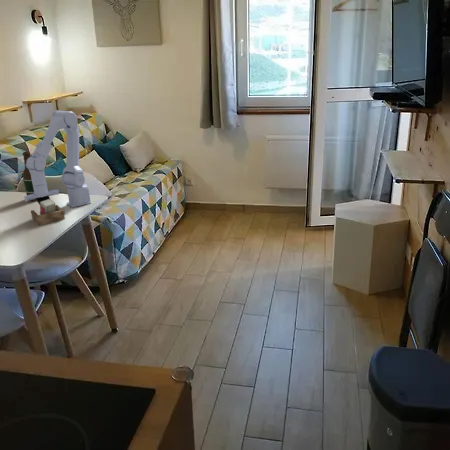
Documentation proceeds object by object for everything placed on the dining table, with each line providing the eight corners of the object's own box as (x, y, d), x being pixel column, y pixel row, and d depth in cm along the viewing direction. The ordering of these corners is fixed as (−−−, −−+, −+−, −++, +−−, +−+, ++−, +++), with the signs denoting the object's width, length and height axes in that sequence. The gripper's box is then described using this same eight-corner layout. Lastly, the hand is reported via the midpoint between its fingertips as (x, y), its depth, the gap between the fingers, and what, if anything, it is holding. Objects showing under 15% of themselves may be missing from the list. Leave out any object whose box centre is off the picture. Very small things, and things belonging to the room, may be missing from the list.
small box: (49, 213, 217) (49, 198, 213) (55, 217, 215) (55, 202, 211) (39, 216, 213) (39, 201, 209) (45, 221, 211) (45, 206, 207)
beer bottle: (24, 200, 240) (14, 153, 231) (37, 195, 246) (28, 149, 237) (33, 202, 236) (23, 154, 227) (47, 197, 242) (38, 151, 233)
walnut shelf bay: (58, 213, 220) (56, 204, 219) (64, 218, 213) (63, 210, 211) (32, 219, 214) (30, 210, 213) (38, 225, 207) (36, 216, 205)
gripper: (53, 178, 218) (58, 206, 223) (20, 185, 210) (26, 213, 215) (58, 181, 212) (63, 210, 217) (24, 188, 205) (30, 218, 210)
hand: (45, 212), depth 216 cm, fingers closed
